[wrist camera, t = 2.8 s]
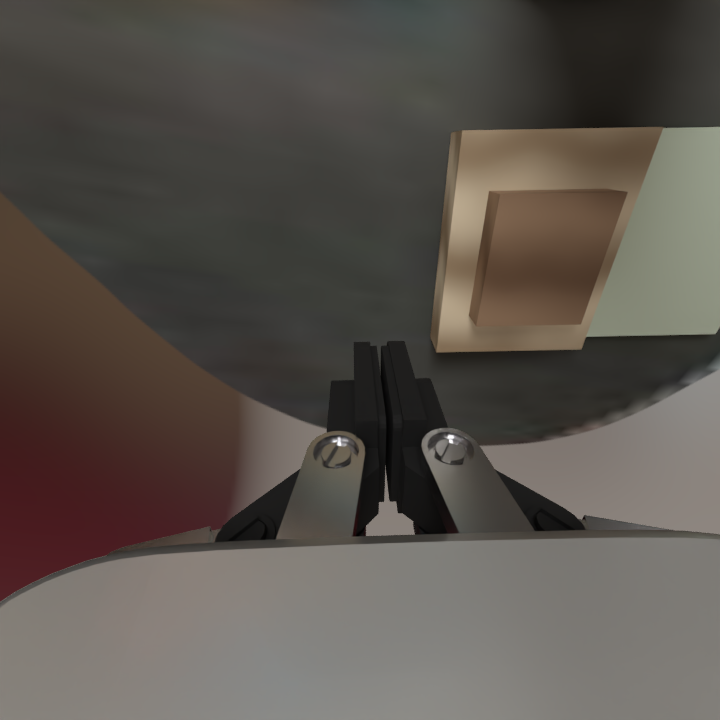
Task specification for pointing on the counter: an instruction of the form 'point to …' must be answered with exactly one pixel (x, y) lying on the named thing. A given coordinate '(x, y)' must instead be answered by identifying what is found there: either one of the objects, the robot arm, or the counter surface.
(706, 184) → the sage mat
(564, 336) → the birch board
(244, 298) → the counter surface
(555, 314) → the walnut block
